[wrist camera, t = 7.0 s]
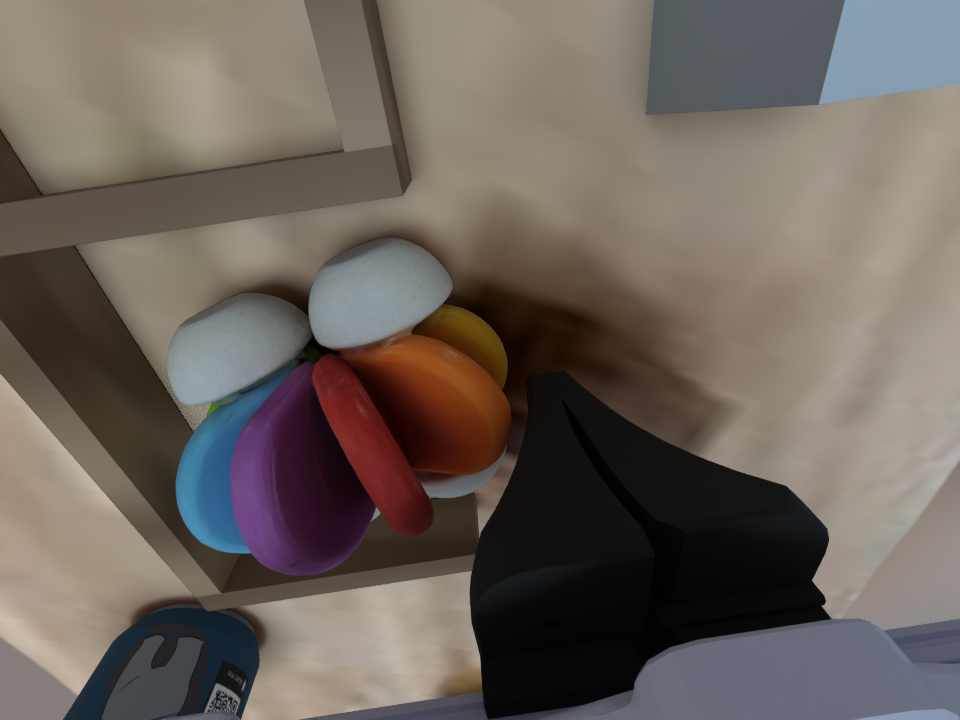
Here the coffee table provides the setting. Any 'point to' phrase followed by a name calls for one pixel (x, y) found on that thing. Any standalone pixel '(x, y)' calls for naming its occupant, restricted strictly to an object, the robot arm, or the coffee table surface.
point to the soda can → (173, 667)
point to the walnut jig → (125, 371)
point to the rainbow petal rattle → (336, 409)
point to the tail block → (797, 51)
